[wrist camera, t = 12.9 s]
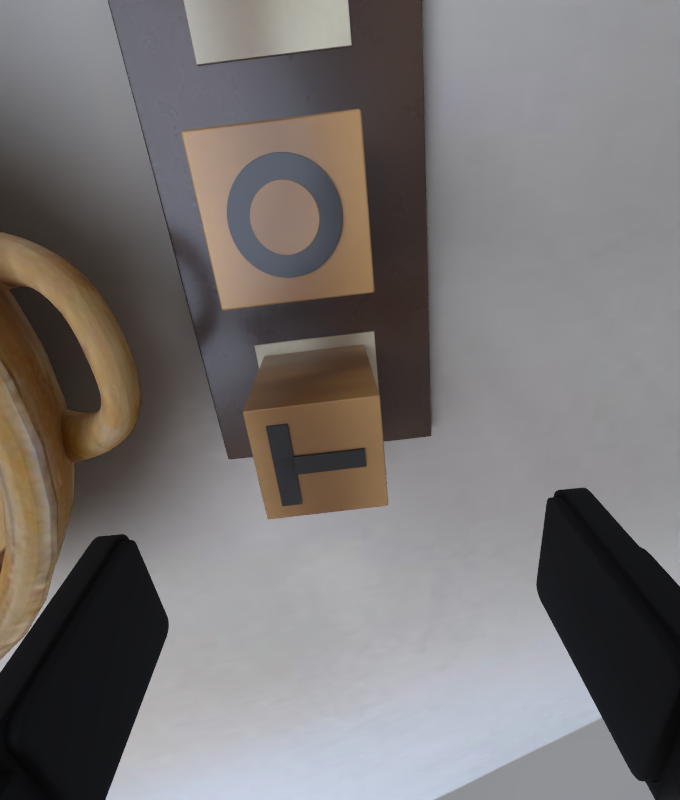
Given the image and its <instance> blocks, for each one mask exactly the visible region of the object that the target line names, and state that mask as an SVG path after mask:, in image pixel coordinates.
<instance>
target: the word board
mask: <svg viewBox="0 0 680 800" xmlns="http://www.w3.org/2000/svg"><path fill="white" fill-rule="evenodd" d="M108 3H109V7H110V10H111V14H112V18H113V22H114V26H115V29H116V33H117V37H118V41H119V45H120V48H121V52H122V56H123V60H124V64H125V67H126V71H127V75H128V79H129V83H130V86H131V90H132V94H133V98H134V102H135V105H136V109H137V113H138V117H139V121H140V124H141V128H142V132H143V136H144V140H145V143H146V147H147V151H148V155H149V159H150V162H151V166H152V170H153V174H154V178H155V181H156V185H157V189H158V193H159V197H160V200H161V204H162V208H163V212H164V216H165V219H166V223H167V227H168V231H169V235H170V238H171V242H172V246H173V250H174V253H175V257H176V261H177V265H178V269H179V272H180V276H181V280H182V284H183V288H184V291H185V295H186V299H187V303H188V307H189V310H190V314H191V318H192V322H193V326H194V329H195V333H196V337H197V341H198V345H199V348H200V352H201V356H202V360H203V364H204V367H205V371H206V375H207V379H208V383H209V386H210V390H211V394H212V398H213V402H214V405H215V409H216V413H217V417H218V421H219V424H220V428H221V432H222V436H223V440H224V443H225V447H226V451H227V455H228V459H237V458H246V457H253V454H252V450H251V446H250V441H249V437H248V433H247V428H246V424H245V420H244V416H243V410H244V407H245V405H246V402H247V400H248V397H249V394H250V392H251V389H252V387H253V384H254V381H255V379H256V376H257V374H258V371H259V368H260V366H261V363H262V361H263V358H264V356H270V355H279V354H287V353H295V352H304V351H312V350H320V349H329V348H337V347H345V346H354V345H362V344H363V345H364V347H365V350H366V353H367V356H368V359H369V363H370V366H371V369H372V372H373V376H374V379H375V382H376V385H377V389H378V392H379V395H380V404H381V417H382V430H383V441H391V440H400V439H409V438H417V437H426V436H431V402H430V356H429V310H428V264H427V219H426V173H425V127H424V81H423V36H422V0H108ZM353 109H360V110H361V115H362V129H363V142H364V155H365V169H366V182H367V195H368V209H369V222H370V236H371V249H372V262H373V276H374V289H375V290H374V292H373V293H366V294H357V295H349V296H341V297H332V298H324V299H316V300H307V301H299V302H291V303H282V304H274V305H266V306H257V307H249V308H241V309H232V310H222V308H221V304H220V300H219V295H218V291H217V287H216V282H215V278H214V274H213V269H212V265H211V261H210V256H209V252H208V248H207V243H206V239H205V234H204V230H203V226H202V221H201V217H200V213H199V208H198V204H197V200H196V195H195V191H194V187H193V182H192V178H191V174H190V169H189V165H188V161H187V156H186V152H185V148H184V143H183V139H182V135H181V133H182V131H184V130H192V129H200V128H208V127H216V126H224V125H232V124H240V123H248V122H256V121H264V120H273V119H281V118H289V117H297V116H305V115H313V114H321V113H329V112H337V111H345V110H353Z"/></svg>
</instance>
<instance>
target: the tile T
mask: <svg viewBox="0 0 680 800" xmlns="http://www.w3.org/2000/svg"><path fill="white" fill-rule="evenodd" d="M243 416H244V420H245V424H246V428H247V433H248V437H249V441H250V446H251V450H252V454H253V458H254V463H255V467H256V471H257V475H258V480H259V484H260V488H261V492H262V497H263V501H264V505H265V510H266V514H267V518H268V519H275V518H283V517H292V516H301V515H309V514H318V513H327V512H335V511H344V510H353V509H361V508H370V507H379V506H387V505H388V493H387V481H386V468H385V455H384V442H383V430H382V417H381V404H380V395H379V392H378V389H377V385H376V382H375V379H374V376H373V372H372V369H371V366H370V363H369V359H368V356H367V353H366V350H365V347H364V345H363V344H362V345H354V346H345V347H337V348H329V349H320V350H312V351H304V352H295V353H287V354H279V355H270V356H264V358H263V361H262V363H261V366H260V368H259V371H258V374H257V376H256V379H255V381H254V384H253V387H252V389H251V392H250V394H249V397H248V400H247V402H246V405H245V407H244V410H243Z"/></svg>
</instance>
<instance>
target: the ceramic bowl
mask: <svg viewBox="0 0 680 800" xmlns="http://www.w3.org/2000/svg"><path fill="white" fill-rule="evenodd" d="M20 286H27V287H30V288H33V289H35V290H36V291H38V292H40V293H41V294H42V295H44V296H45V297H46V298H47V299H48V300H49V301H50V302H52V304H53V305H54V306H55V307H56V308H57V309H58V310H59V311H60V312H61V313H62V315H63V316H64V318H65V319H66V321H67V322H68V324H69V325H70V327H71V328H72V330H73V332H74V334H75V335H76V337H77V339H78V341H79V343H80V345H81V347H82V349H83V351H84V354H85V356H86V358H87V360H88V362H89V364H90V367H91V369H92V372H93V374H94V376H95V379H96V381H97V384H98V387H99V391H100V395H101V407H100V410H99V411H98V412H94V413H87V412H78V411H72V410H67V407H66V402H65V399H64V396H63V393H62V391H61V388H60V386H59V383H58V381H57V378H56V376H55V373H54V371H53V368H52V366H51V363H50V361H49V358H48V356H47V353H46V351H45V348H44V346H43V344H42V343H41V341H40V339H39V338H38V336H37V334H36V333H35V331H34V329H33V328H32V326H31V324H30V323H29V321H28V319H27V318H26V316H25V314H24V313H23V311H22V309H21V307H20V306H19V304H18V302H17V301H16V299H15V297H14V296H13V294H12V293H11V292H10V289H13V288H15V287H20ZM140 406H141V387H140V381H139V377H138V373H137V370H136V366H135V363H134V360H133V357H132V354H131V351H130V348H129V345H128V343H127V341H126V339H125V337H124V335H123V333H122V330H121V328H120V326H119V324H118V322H117V321H116V319H115V317H114V315H113V313H112V311H111V310H110V308H109V306H108V304H107V303H106V301H105V300H104V298H103V297H102V295H101V294H100V292H99V291H98V290H97V289H96V287H95V286H94V285H93V284H92V282H91V281H90V280H89V279H88V278H87V277H85V276H84V275H83V274H82V273H81V272H80V271H79V270H78V269H77V268H75V267H74V266H73V265H72V264H70V263H69V262H68V261H67V260H65V259H64V258H62V257H61V256H59V255H57V254H56V253H54V252H53V251H51V250H49V249H47V248H45V247H43V246H41V245H38V244H36V243H34V242H32V241H29V240H27V239H24V238H21V237H18V236H15V235H11V234H8V233H3V232H0V660H1V659H2V658H3V657H4V656H5V655H6V654H7V653H8V652H9V651H10V650H11V649H12V648H13V647H14V646H15V645H16V644H17V643H18V642H19V641H20V640H21V639H22V638H23V637H24V636H25V635H26V633H27V632H28V630H29V628H30V626H31V625H32V623H33V621H34V619H35V618H36V616H37V614H38V613H39V611H40V609H41V607H42V606H43V604H44V602H45V600H46V598H47V595H48V591H49V587H50V583H51V579H52V575H53V571H54V567H55V564H56V562H57V559H58V556H59V553H60V550H61V546H62V543H63V540H64V536H65V532H66V528H67V524H68V520H69V517H70V513H71V509H72V505H73V497H74V462H79V461H83V460H87V459H91V458H94V457H97V456H100V455H102V454H104V453H106V452H108V451H110V450H112V449H113V448H115V447H116V446H118V445H119V444H120V443H121V442H123V441H124V440H125V439H126V438H127V437H128V435H129V434H130V433H131V431H132V430H133V428H134V427H135V425H136V422H137V419H138V417H139V413H140Z"/></svg>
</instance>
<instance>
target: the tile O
mask: <svg viewBox="0 0 680 800" xmlns="http://www.w3.org/2000/svg"><path fill="white" fill-rule="evenodd" d="M181 135H182V139H183V143H184V148H185V152H186V156H187V161H188V165H189V169H190V174H191V178H192V182H193V187H194V191H195V195H196V200H197V204H198V208H199V213H200V217H201V221H202V226H203V230H204V234H205V239H206V243H207V248H208V252H209V256H210V261H211V265H212V269H213V274H214V278H215V282H216V287H217V291H218V295H219V300H220V304H221V308H222V310H232V309H241V308H249V307H257V306H266V305H274V304H282V303H291V302H299V301H307V300H316V299H324V298H332V297H341V296H349V295H357V294H366V293H373V292H374V290H375V289H374V276H373V262H372V249H371V236H370V222H369V209H368V195H367V182H366V169H365V155H364V142H363V129H362V115H361V110H360V109H353V110H345V111H337V112H329V113H321V114H313V115H305V116H297V117H289V118H281V119H273V120H264V121H256V122H248V123H240V124H232V125H224V126H216V127H208V128H200V129H192V130H184V131H182V133H181Z"/></svg>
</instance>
